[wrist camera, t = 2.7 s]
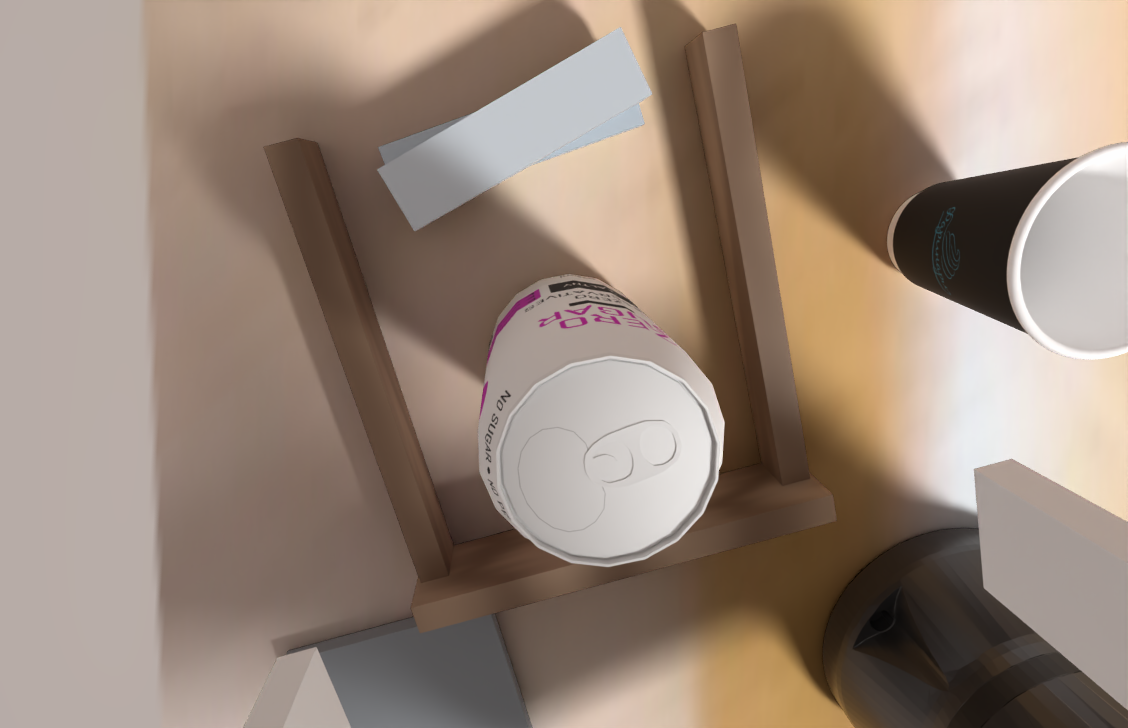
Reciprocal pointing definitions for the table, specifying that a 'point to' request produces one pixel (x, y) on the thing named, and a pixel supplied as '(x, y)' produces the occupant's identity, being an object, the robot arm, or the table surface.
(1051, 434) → the table surface
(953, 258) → the dixie cup
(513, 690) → the pad
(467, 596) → the rack
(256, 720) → the robot arm
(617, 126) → the offcut lower
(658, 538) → the supplement can
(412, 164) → the offcut upper
